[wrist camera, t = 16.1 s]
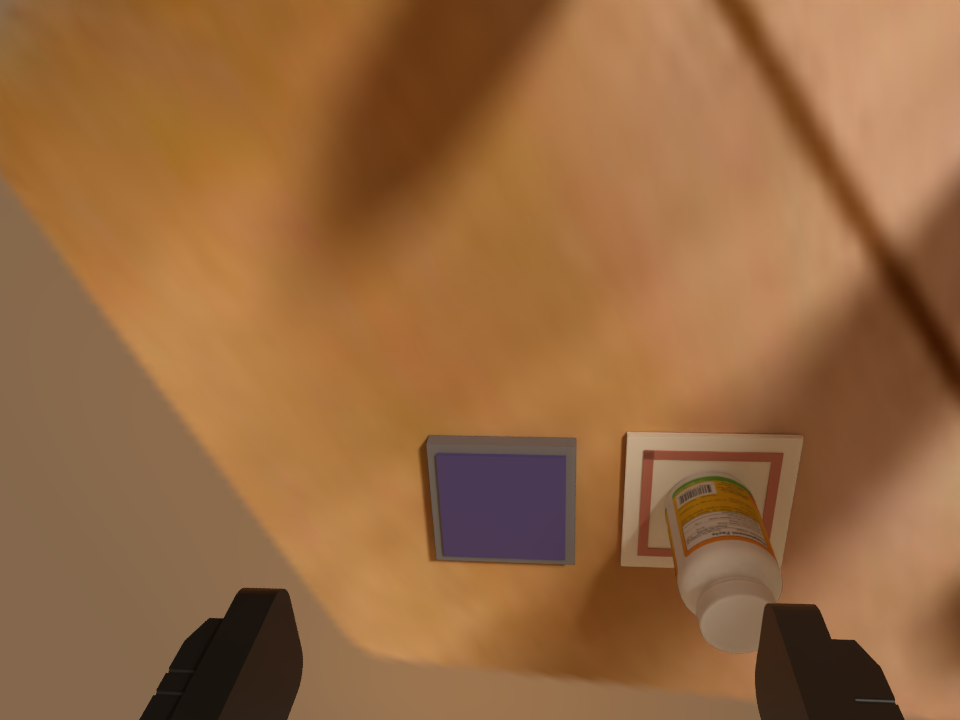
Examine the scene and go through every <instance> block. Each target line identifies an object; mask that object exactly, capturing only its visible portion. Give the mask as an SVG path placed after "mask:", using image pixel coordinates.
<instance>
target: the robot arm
mask: <svg viewBox="0 0 960 720" xmlns="http://www.w3.org/2000/svg"><path fill="white" fill-rule="evenodd" d="M302 655H303V654H302V648H301V644H300V639H299V635H298V631H297V626H296V622H295V618H294V613H293V609H292V604H291V600H290V596H289V593H288V592H287V591H286V590H285V589H270V588H242V589H241V590H240V591H239V592H238V593H237V594H236V596H235V598H234V600H233V602H232V604H231V605H230V607H229V609H228V611H227V613H226V615H225V617H224V618H223V619H222V618H209V619H208V620H207V621H205V622H204V623H203V624H202V625H201V626H200V627H199V628H198V629H197V630H196V631H195V632H194V633H193V634H191V635H190V636H189V637H188V638H187V639H186V640H185V641H184V643H183V644H182V646H181V648H180V650H179V652H178V653H177V655H176V657H175V658H174V660H173V662H172V664H171V665H170V667H169V673H166V674H165V676H164V678H163V679H162V681H161V683H160V685H159V686H158V688H157V693H156V695H153V697H152V699H151V700H150V702H149V704H148V705H147V707H146V709H145V711H144V712H143V714H142V716H141V718H140V719H139V720H287V719H288V716H289V713H290V711H291V708H292V705H293V703H294V700H295V697H296V694H297V692H298V689H299V686H300V682H301V676H302V668H303V656H302ZM755 688H756V698H757V704H758V709H759V713H760V717H761V720H904V717H903V715H902V713H901V711H900V709H899V706H898V705H896V704H895V698H894V695H893V693H892V691H891V689H890V687H889V684H888V682H887V680H886V678H885V676H884V673H883V671H882V669H881V667H880V666H879V665H878V664H877V663H876V662H875V661H874V660H873V659H872V658H871V657H870V656H869V655H868V654H867V653H866V651H865V650H864V649H863V648H862V647H861V646H860V645H859V644H858V643H857V642H856V641H855V640H837V639H831V637H830V634H829V632H828V629H827V627H826V624H825V622H824V619H823V617H822V614H821V612H820V610H819V609H818V607H817V606H816V605H814V604H780V603H767V604H766V605H765V607H764V612H763V618H762V625H761V633H760V640H759V647H758V654H757V661H756V669H755Z"/></svg>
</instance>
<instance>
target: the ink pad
mask: <svg viewBox="0 0 960 720" xmlns="http://www.w3.org/2000/svg"><path fill="white" fill-rule="evenodd" d="M426 447H427V458H428V470H429V481H430V492H431V503H432V515H433V526H434V537H435V549H436V560H455V561H482V562H510V563H537V564H564V565H575V502H576V438H545V437H491V436H436V435H429V437H428V440H427V443H426Z"/></svg>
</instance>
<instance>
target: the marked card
mask: <svg viewBox="0 0 960 720" xmlns="http://www.w3.org/2000/svg"><path fill="white" fill-rule="evenodd" d="M803 440H804V438H803V436H802V435H779V434H721V433H663V432H627V443H626V463H625V483H624V502H623V522H622V542H621V561H620V562H621V566H630V567H658V568H674V562H673V557H672V551H671V545H670V540H669V535H668V530H667V525H666V519H665V503H666V500H667V497H668V495H669V494H670V492H671V491H672V489H673V488H674V487H675V486H676V485H677V484H678V483H680V482H681V481H683V480H684V479H686V478H688V477H690V476H693V475H696V474H701V473H708V472H716V473H723V474H727V475H730V476H732V477H735V478H736V479H738V480H740V481H741V482H742V483H744V484H745V485H746V486H747V487H748V489H749V490H750V491H751V493H752V495H753V497H754V500H755V502H756V505H757V507H758V510H759V513H760V516H761V518H762V521H763V524H764V527H765V530H766V532H767V535H768V538H769V540H770V543H771V546H772V549H773V551H774V554H775V557H776V559H777V562H778V565H779V568H780V572H781V566H782V561H783V555H784V549H785V543H786V538H787V532H788V526H789V520H790V515H791V509H792V503H793V497H794V492H795V486H796V480H797V474H798V468H799V463H800V457H801V451H802V445H803Z"/></svg>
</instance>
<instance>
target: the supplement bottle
mask: <svg viewBox="0 0 960 720" xmlns="http://www.w3.org/2000/svg"><path fill="white" fill-rule="evenodd" d="M665 519H666V525H667V530H668V535H669V540H670V545H671V551H672V557H673V562H674V568H675V573H676V579H677V584H678V588H679V592H680V596H681V598H682V600H683V602H684V604H685V605H686V606H687V608H688V609H689V610H690V611H691V612H692V613H693V614H695V615H696V616H697V620H698V623H699V628H700V631H701V634H702V636H703V637H704V639H705V640H706V641H707V642H708V643H709V644H710V645H711V646H713V647H715V648H716V649H719V650H721V651H724V652H728V653H737V654H741V653H749V652H753V651H757V650H758V647H759V640H760V633H761V625H762V618H763V612H764V607H765V605H766V604H767V603H777V601H778V599H779V597H780V595H781V591H782V575H781V572H780V568H779V565H778V562H777V559H776V557H775V554H774V551H773V549H772V546H771V543H770V540H769V538H768V535H767V532H766V530H765V527H764V524H763V521H762V518H761V516H760V513H759V510H758V507H757V505H756V502H755V500H754V497H753V495H752V493H751V491H750V490H749V489H748V487H747V486H746V485H745V484H744V483H742V482H741V481H740V480H738V479H736V478H735V477H732V476H730V475H727V474H723V473H716V472H708V473H701V474H696V475H693V476H690V477H688V478H686V479H684V480H683V481H681V482H680V483H678V484H677V485H676V486H675V487H674V488H673V489H672V491H671V492H670V494H669V495H668V497H667V500H666V503H665Z"/></svg>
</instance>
